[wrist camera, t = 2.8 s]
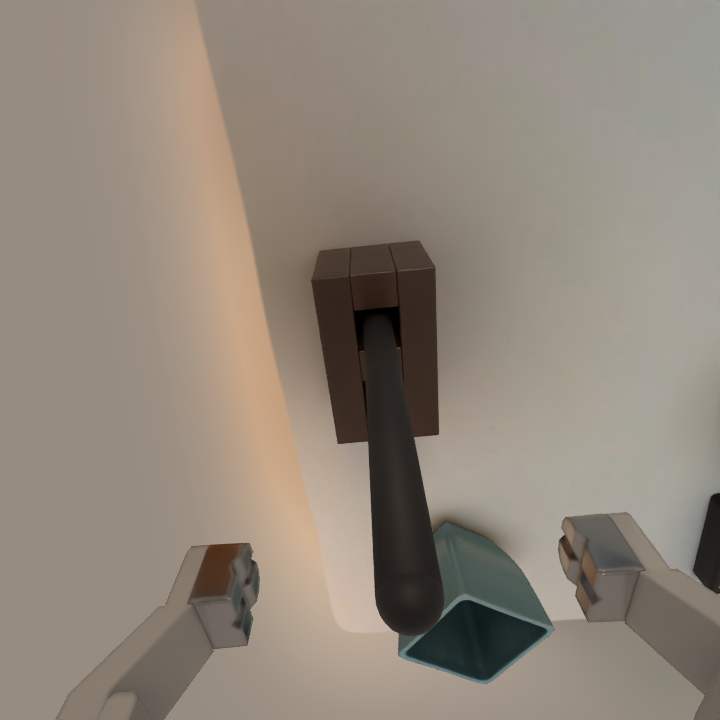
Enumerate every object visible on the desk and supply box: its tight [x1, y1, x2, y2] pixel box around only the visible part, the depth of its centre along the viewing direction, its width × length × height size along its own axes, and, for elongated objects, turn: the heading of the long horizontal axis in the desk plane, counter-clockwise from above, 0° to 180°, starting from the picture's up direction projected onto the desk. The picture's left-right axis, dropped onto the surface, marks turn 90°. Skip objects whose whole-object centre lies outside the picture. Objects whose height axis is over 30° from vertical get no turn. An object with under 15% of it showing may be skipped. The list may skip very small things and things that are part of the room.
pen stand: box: [311, 241, 439, 444], centre depth 27 cm, size 6×11×6 cm, turn 6°
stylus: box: [363, 307, 445, 636], centre depth 19 cm, size 2×2×22 cm
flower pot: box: [398, 522, 555, 684], centre depth 36 cm, size 9×9×9 cm
